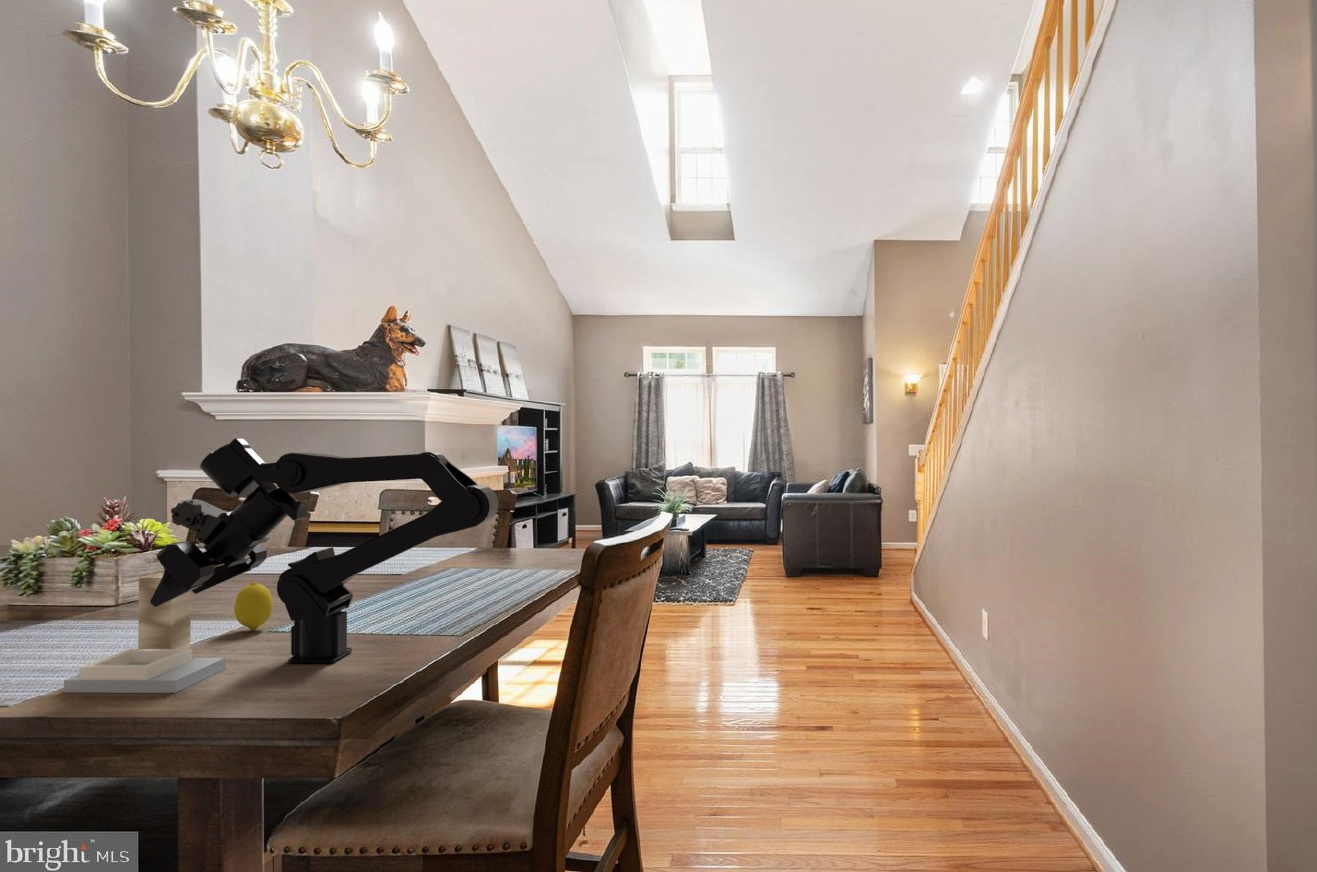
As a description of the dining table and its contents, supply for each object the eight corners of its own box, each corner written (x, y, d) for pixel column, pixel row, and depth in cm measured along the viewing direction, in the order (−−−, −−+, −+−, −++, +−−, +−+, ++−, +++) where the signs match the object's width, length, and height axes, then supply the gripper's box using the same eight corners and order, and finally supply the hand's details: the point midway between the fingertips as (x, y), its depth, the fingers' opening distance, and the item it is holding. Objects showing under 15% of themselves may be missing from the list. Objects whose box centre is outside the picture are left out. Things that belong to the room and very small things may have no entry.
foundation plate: (225, 668, 101) (225, 646, 101) (175, 692, 91) (175, 668, 91) (124, 668, 102) (124, 646, 102) (63, 692, 92) (64, 667, 92)
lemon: (230, 630, 123) (230, 581, 123) (267, 625, 127) (267, 577, 127) (239, 636, 119) (239, 586, 119) (276, 630, 123) (277, 582, 123)
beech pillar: (190, 654, 109) (190, 572, 109) (171, 663, 104) (171, 577, 104) (159, 655, 108) (159, 572, 109) (138, 664, 104) (138, 577, 104)
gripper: (247, 477, 116) (174, 549, 116) (172, 483, 98) (85, 568, 97) (298, 528, 116) (225, 599, 116) (233, 543, 98) (146, 628, 97)
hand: (174, 597), depth 106 cm, fingers open, 9 cm apart
